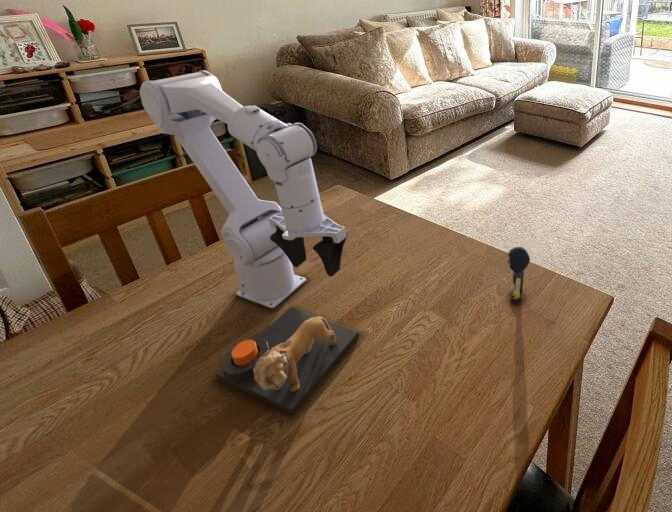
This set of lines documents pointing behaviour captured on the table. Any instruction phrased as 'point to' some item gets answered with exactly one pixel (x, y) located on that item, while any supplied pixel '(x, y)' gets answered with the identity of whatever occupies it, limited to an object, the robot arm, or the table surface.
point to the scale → (308, 366)
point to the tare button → (244, 352)
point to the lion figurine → (290, 355)
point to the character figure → (518, 270)
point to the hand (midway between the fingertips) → (316, 267)
